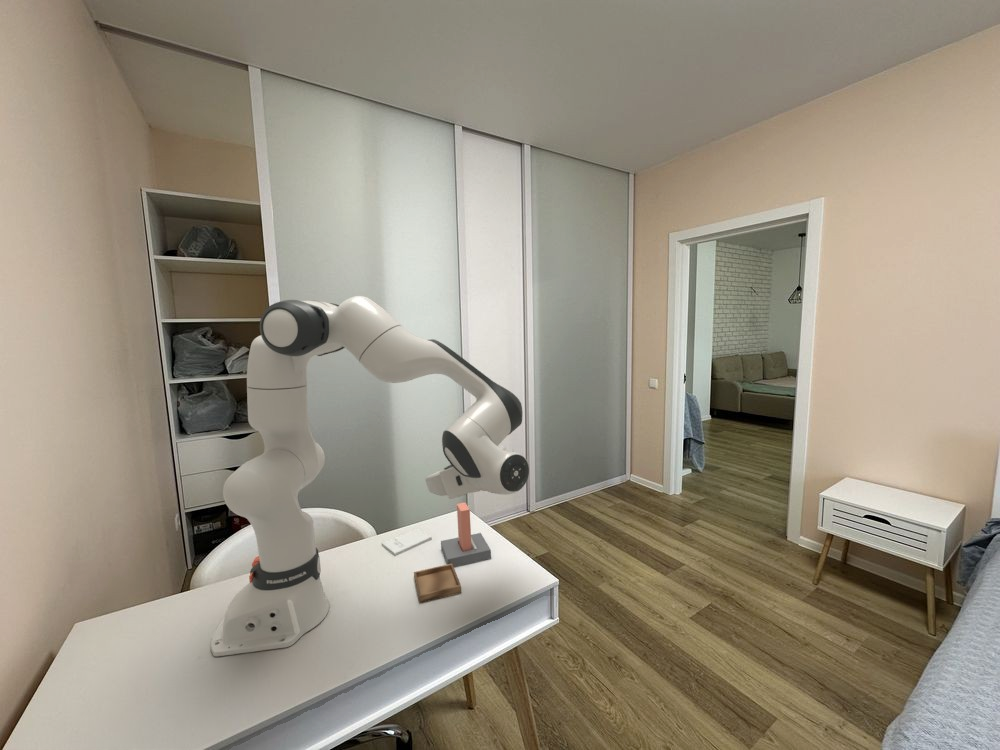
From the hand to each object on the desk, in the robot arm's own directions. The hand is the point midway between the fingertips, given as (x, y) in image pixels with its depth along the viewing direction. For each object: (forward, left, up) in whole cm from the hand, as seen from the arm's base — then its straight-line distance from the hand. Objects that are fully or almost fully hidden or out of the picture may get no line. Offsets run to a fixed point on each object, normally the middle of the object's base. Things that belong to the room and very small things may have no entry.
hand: (456, 466), depth 101 cm
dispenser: (+3, +9, -29) cm, 30 cm away
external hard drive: (-12, +22, -30) cm, 39 cm away
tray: (-7, -2, -29) cm, 30 cm away
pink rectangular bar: (+3, +9, -29) cm, 30 cm away
